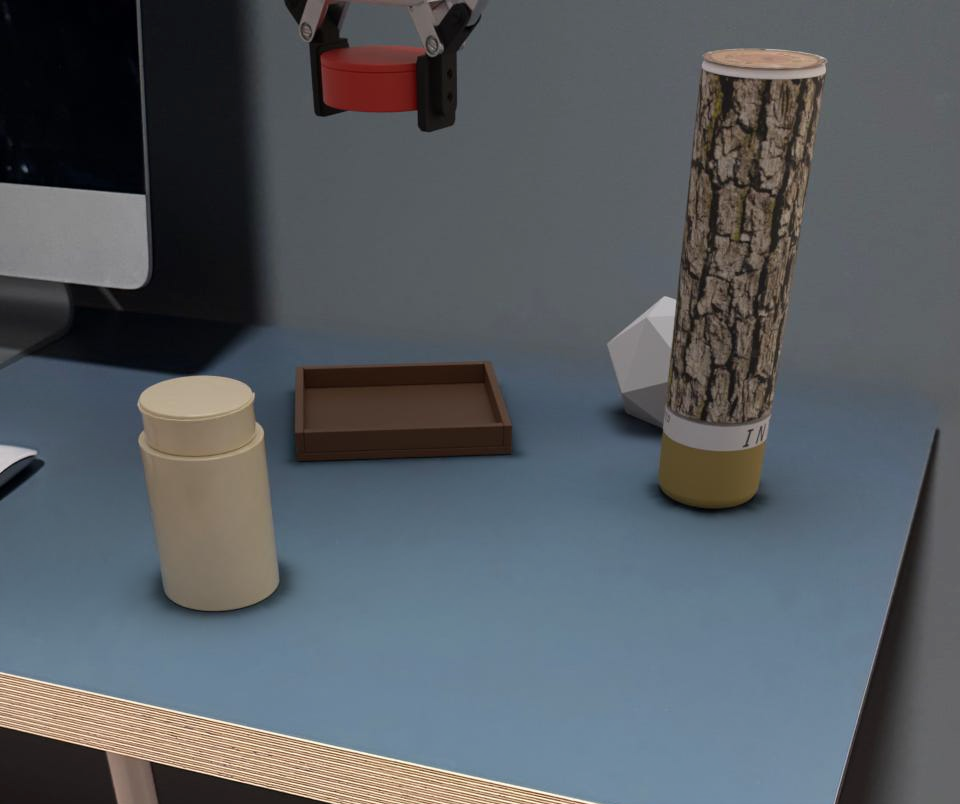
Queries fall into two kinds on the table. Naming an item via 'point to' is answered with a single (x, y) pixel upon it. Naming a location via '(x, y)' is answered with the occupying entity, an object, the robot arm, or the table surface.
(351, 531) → the table surface
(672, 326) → the die
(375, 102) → the jar lid
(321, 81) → the robot arm
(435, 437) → the tray
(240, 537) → the jar
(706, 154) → the paper tube
